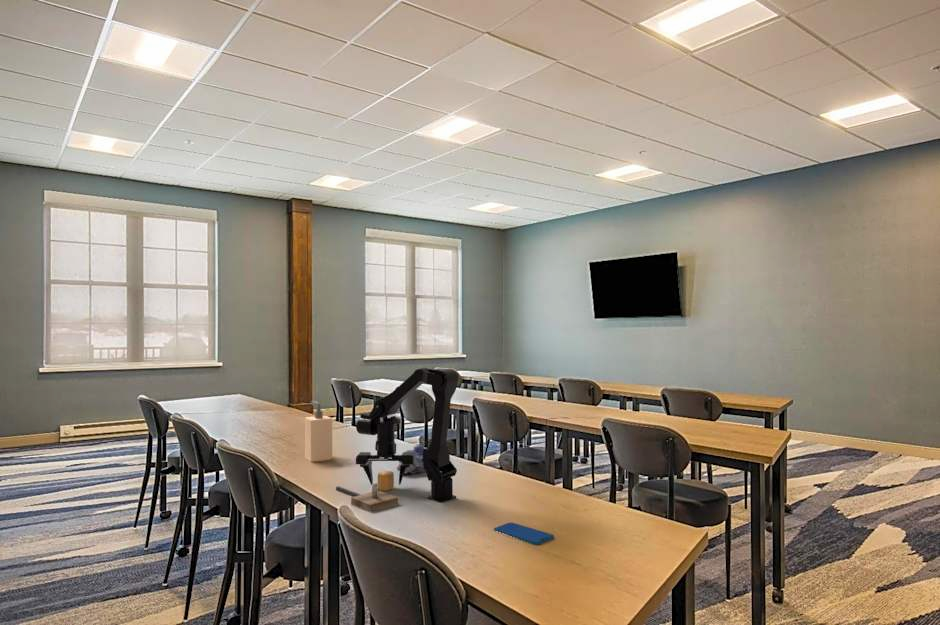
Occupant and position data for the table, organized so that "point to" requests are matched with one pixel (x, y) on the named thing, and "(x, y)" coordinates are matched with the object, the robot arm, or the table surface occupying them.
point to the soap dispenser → (318, 436)
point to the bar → (347, 491)
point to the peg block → (374, 500)
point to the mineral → (417, 464)
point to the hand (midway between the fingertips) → (385, 484)
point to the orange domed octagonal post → (385, 480)
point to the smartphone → (524, 533)
